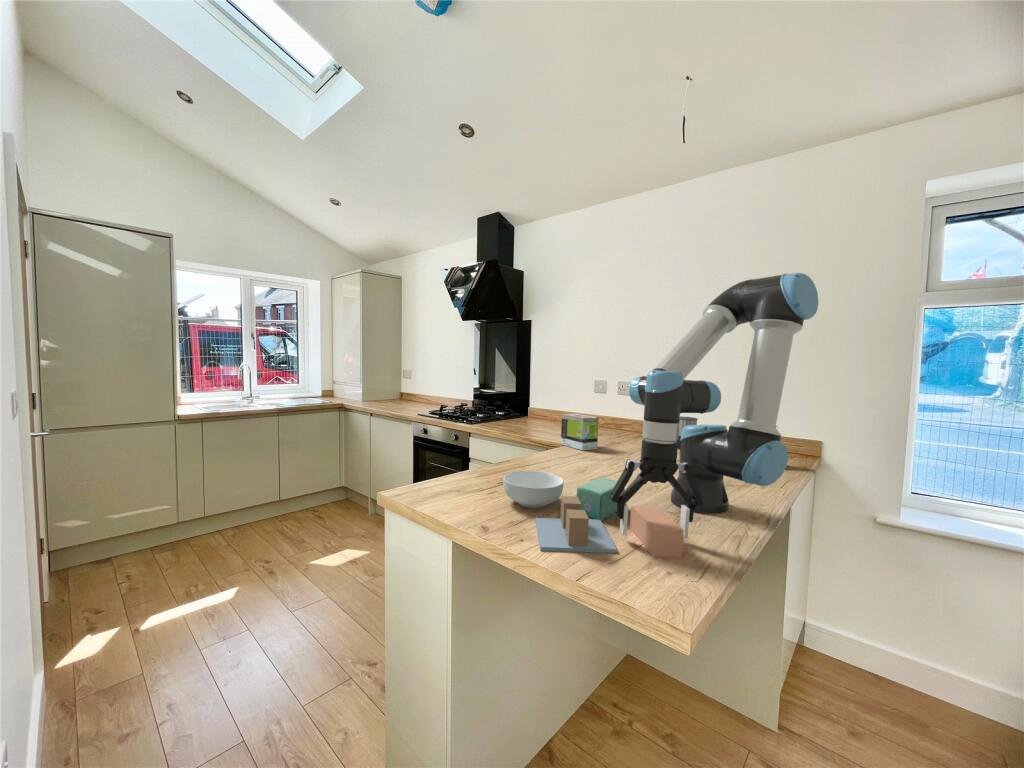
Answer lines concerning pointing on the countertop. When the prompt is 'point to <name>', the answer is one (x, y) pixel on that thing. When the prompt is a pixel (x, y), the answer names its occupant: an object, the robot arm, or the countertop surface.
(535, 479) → the cereal bowl
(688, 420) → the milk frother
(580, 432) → the tea box
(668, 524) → the beam
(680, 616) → the countertop surface
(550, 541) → the base
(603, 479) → the box
